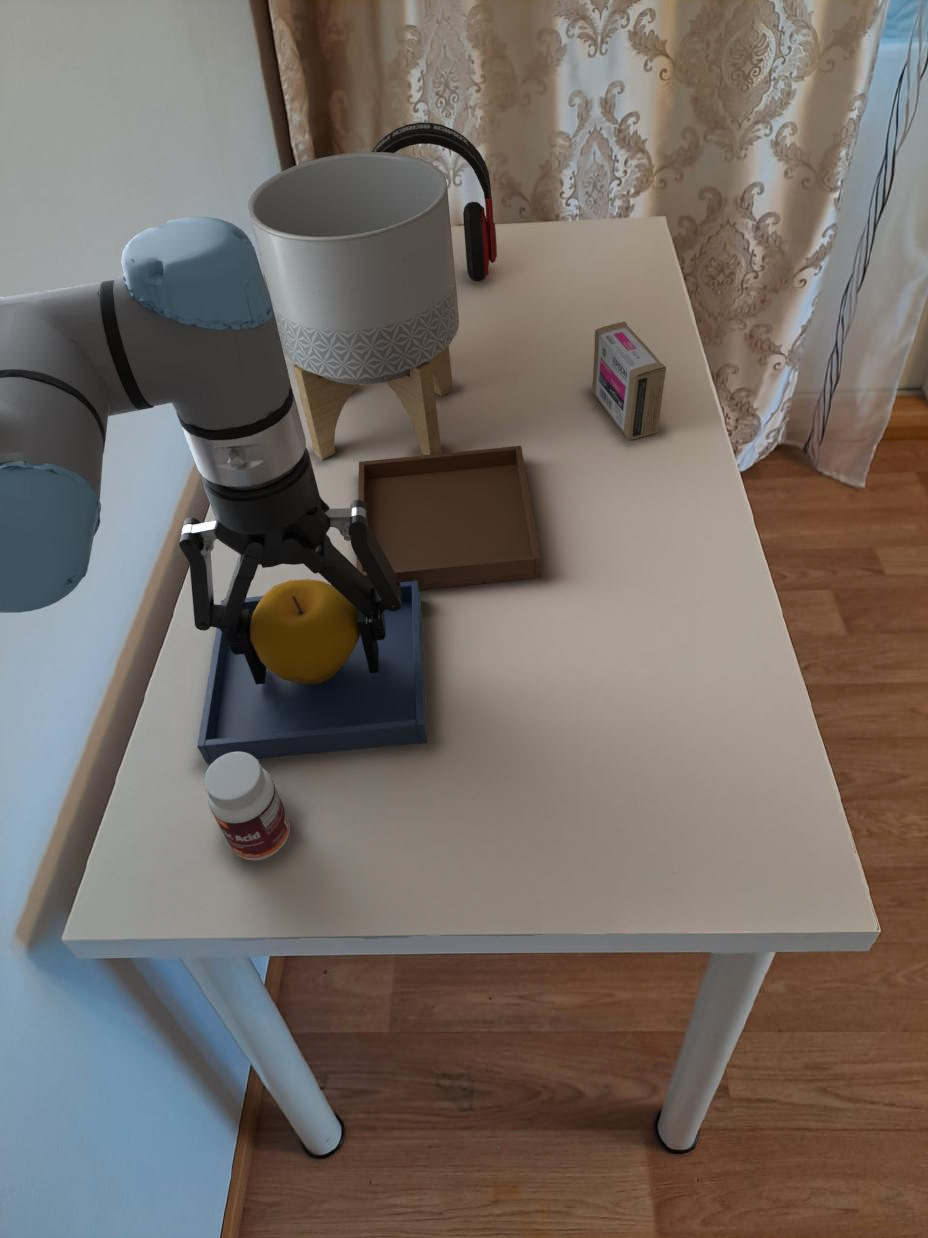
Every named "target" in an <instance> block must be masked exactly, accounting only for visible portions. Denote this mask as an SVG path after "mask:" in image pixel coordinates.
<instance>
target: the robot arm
mask: <svg viewBox="0 0 928 1238" xmlns="http://www.w3.org/2000/svg"><path fill="white" fill-rule="evenodd" d="M120 262H121V268H122V270H123V273H122V275H121V276H116V277H115V278H114V279H111V280H110V279H109V280H105V281H98V282H93V283H86V284H80V285H73V286H66V287H61V288H55V289H48V290H42V291H34V292H29V293H22V294H15V295H10V296H0V614H3V613H4V614H11V613H13V614H14V613H17V614H18V613H27V612H33V611H37V610H41V609H45V608H46V607H50V606H51V605H54V604H56V603H59V602H60V601H61V600H63V599H65V597H67V596H68V595H70V594H71V593H72V592H73V591H75V589H76V588H77V587H78V585H79V584H80V582H81V581H82V580H83V579H85V577H86V575H87V573H88V570H89V565H90V561H91V555H92V549H93V543H94V537H95V536H96V534H97V532H98V530H99V528H100V524H101V510H102V503H101V492H102V491H101V488H102V475H103V461H104V453H105V446H106V441H107V440H106V439H107V431H108V430H107V429H108V422H109V417H111V416H116V415H122V414H128V413H133V412H139V411H143V410H148V409H153V408H154V407H157V406H162V405H167V404H172V406H173V408H174V410H175V413H176V416H177V418H178V420H179V423H180V427H181V429H182V432H183V434H184V437H185V440H186V442H187V445H188V448H189V450H190V453H191V456H192V458H193V461H194V463H195V466H196V469H197V471H198V472H199V474H200V480H201V483H202V486H203V488H204V491H205V494H206V496H207V499H208V502H209V504H210V507H211V511H212V513H213V515H214V517H215V520H211V521H206V522H201V521H200V520H199V519H197V518H195V517H187V518H185V519H184V521H183V526H182V529H181V534H180V538H179V539H180V540H179V543H178V545H179V548H180V550H181V551H182V553H183V555H184V556H185V558H186V560H187V562H188V563H189V573H190V585H191V586H190V587H191V594H192V595H191V597H192V608H193V609H192V610H193V618H194V619H193V620H194V621H193V622H194V627H195V628H196V629H197V630H199V631H204V632H205V631H208V630H210V629H211V628H215V629H217V628H219V629H220V630H221V631H222V632H223V633H224V634H225V637H226V639H227V642H228V644H229V646H230V649H231V651H232V652H233V653H234V654H235V655H239V654H244V656H245V658H246V661H247V663H248V666H249V668H250V671H251V673H252V676H253V678H254V681H255V683H256V684H265V677H266V666H265V665H264V664H263V663H262V662H261V661H260V659H259V657H258V655H257V653H256V650H255V648H254V646H253V644H252V642H251V640H250V633H249V626H250V623H251V619H252V617H251V614H250V612H249V609H248V610H242V608H243V605H244V602H245V599H246V598H247V596H248V593H249V590H250V588H251V585H252V581H253V580H254V579H255V576H256V573H257V570H258V567H259V566H261V568H262V569H266V568H273V567H277V566H279V565H293V566H294V565H296V566H297V565H304V566H305V567H306V568H307V569H308V570H309V571H311V572H312V573H313V574H315V575H316V574H319V575H320V576H321V577H322V578H323V579H324V580H326V581H327V583H328V584H330V585H332V586H333V587H334V588H335V589H337V590H338V591H339V592H340V593H341V594H342V595H343V596H344V597H345V598H346V599H347V600H348V601H349V602H351V603H352V604H353V605H354V606H355V607H356V608H357V609H358V619H357V623H358V627H359V631H360V635H361V639H362V643H363V647H364V651H365V655H366V659H367V663H368V667H369V671H370V673H377V672H379V648H378V644H377V640H384V639H385V636H386V623H385V619H384V614H383V612H384V611H385V610H390V611H397V610H399V609H400V608H401V584H400V582H399V580H398V578H397V576H396V574H395V572H394V571H393V569H392V567H391V565H390V563H389V561H388V560H387V558H386V556H385V554H384V552H383V550H382V549H381V547H380V545H379V543H378V541H377V539H376V538H375V536H374V534H373V532H372V530H371V528H370V526H369V525H368V520H367V505H366V503H365V502H363V501H361V500H358V499H356V500H353V501H352V502H351V503H350V508H346V507H345V508H344V507H343V508H330V506H329V505H328V504H327V503H326V501H324V499H323V498H322V497H321V495H320V492H319V488H318V487H319V486H318V483H317V481H316V480H317V479H316V475H315V472H314V468H313V463H312V460H311V456H310V452H309V450H308V448H307V439H306V435H305V431H304V427H303V423H302V420H301V419H302V418H301V416H300V412H299V409H298V403H297V401H296V396H295V393H294V390H293V388H292V383H291V378H290V374H289V370H288V366H287V362H286V358H285V357H286V356H285V351H284V350H283V346H282V342H281V338H280V334H279V330H278V326H277V322H276V319H275V314H274V310H273V306H272V302H271V297H270V293H269V291H268V287H267V283H266V280H265V277H264V274H263V271H262V268H261V265H260V262H259V258H258V255H257V253H256V249H255V246H254V245H253V242H252V241H251V240H250V237H249V236H248V235H247V233H245V231H244V230H242V228H240V227H239V226H237V225H235V224H234V223H232V222H229V221H227V220H224V219H220V218H216V217H209V216H187V217H180V218H176V219H171V220H167V221H166V222H165V223H164V224H163V225H160V226H154V227H153V226H152V227H148V228H146V229H144V230H142V231H140V232H138V234H136V235H134V237H132V238H131V239H130V240H129V241H128V242H127V244H126V245H125V247H124V249H122V253H121V259H120ZM331 528H333V529H336V530H338V531H339V533H340V535H341V536H342V537H343V539H344V541H346V542H350V544H351V545H350V546H351V549H352V550H353V553H354V554H355V556H356V559H357V558H358V560H359V561H360V563H361V565H362V567H363V568H364V570H365V572H366V574H367V575H368V577H369V579H370V581H371V582H372V583H371V582H370V581H369V580H368V579H367V578H366V577H365V576H364V575H363V574H362V573H361V572H360V571H359V570H358V569H357V566H356V565H354V564H353V563H352V562H351V561H350V560H349V559H348V558H347V557H346V556H345V555H344V554H343V553H342V552H341V551H340V550H339V549H338V548H336V547H335V546H334V544H333V543H332V541H331V538H330V536H329V535H328V534H327V533H328V532H329V531H330V529H331ZM216 540H218V541H219V542H220V543H222V544H224V545H225V546H226V547H228V548H230V549H231V550H233V551H234V552H236V553H237V554H239V555H238V558H237V561H236V564H235V567H234V570H233V573H232V576H231V579H230V581H229V586H228V588H227V591H226V596H225V598H223V600H224V603H223V605H220V604H215V594H214V581H213V580H214V579H213V578H214V577H213V564H212V563H213V562H212V551H213V550H214V548H215V541H216Z"/></svg>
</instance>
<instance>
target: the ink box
mask: <svg viewBox="0 0 928 1238" xmlns="http://www.w3.org/2000/svg"><path fill="white" fill-rule="evenodd" d="M593 351H594V352H593V353H594V354H593V369H592V370H593V371H592V382H591V383H592V385H591V393H592V394H593V395H594V396H595V398H596V399H597V400H598V402H599V403H600V404H601V406H602V407H603V408H604V410H605V411H606V413H607V414H608V415H609V417H610V418H611V419H612V421H613V422H614V423H615V425H616V426H617V427H618V429H619V430H620V432H622V434H623V435H624V437H625V438H626V439H627V440H628V441H629V440H630V441H631V440H635V439H639V438H643V437H647V436H650V435H651V436H652V435H655V434H658V432H659V425H660V417H661V410H662V401H663V394H664V387H665V380H666V372H667V366H666V365H665V364H664V363H663V362H661V361H660V360H659V359H658V358H657V356H656V355H655V354H654V353H653V352H652V350H651V349H649V347H648V346H647V345H646V344H645V343H644V342H643V341H642V340H641V339H640V338H639V336H638V335H637V334H636V333H635V332H634V331H633V330H632V329H631V328H630V326H629V325H628V323H627V322H626V321H622V322H621V321H620V322H616V323H613V324H609V325H605V326H601V327H599V328H596V329H595V330H594V349H593Z"/></svg>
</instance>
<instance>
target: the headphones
mask: <svg viewBox="0 0 928 1238" xmlns="http://www.w3.org/2000/svg"><path fill="white" fill-rule="evenodd" d="M416 145H434V146H439V147H441V148H446V149H447V150H450V151H452V152H454V153H455V154H458V155H459V156H460V158H462V159H464V160H465V161H466V162H467V164H468V165H469V166H470V167H471V169H472V170H473V172H474V174H475V176H476V178H477V180H478V182H479V186H480V187H481V190H482V193H483V198H484V205H485V207H484V206H483V205H481V204H480V202H478V201H470V202H467V203H466V204H465V205H464V207H463V212H462V217H463V220H462V221H463V233H464V245H465V248H464V249H465V260H466V271H467V275H468V277H469V279H470V280H472V281H473V282H481V281H484V280H485V279H486V277H487V276H488V275H489V267H490V263H491V264H494V263H495V262H496V260H497V258H498V245H497V231H496V223H495V222H494V205H493V196H492V188H491V178H490V172H489V169H488V166H487V163H486V161H485V160H484V157H483V156H482V154H481V152H479V150H478V149H477V147H476V146H475V145H474V144H473V143H472V142H471V141H470V140H469V139H468V138H467V137H466V136H465V135H463V134H461V133H460V132H458V131H457V130H456V129H453V128H451V127H448V126H446V125H445V124H440V123H435V122H414V123H410V124H409V123H408V124H405V125H403V126H401V127H400V126H399V127H398V128H395V129H394V130H393V131H391V132H389V133H388V134H386V135H385V136H384V137H383V138H382V139H381V140H380V141H378V142H377V144H376V145H375V146H374V147H373V149H372V150H371V152H388V153H397V152H398V151H400V150H402V149H405V148H408V147H410V146H416Z"/></svg>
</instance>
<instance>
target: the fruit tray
mask: <svg viewBox="0 0 928 1238" xmlns="http://www.w3.org/2000/svg"><path fill="white" fill-rule="evenodd" d="M400 584H401V608H400V609H399V610H397V611H390V610H385V611H384V612H383V614H384V619H385V623H386V636H385V639H384V640H377V644H378V648H379V672H377V673H370V671H369V667H368V663H367V659H366V655H365V651H364V647H363V643H362V639H361V635H360V637H359V640H358V642H357V644H356V646H355V648H354V650H353V652H352V653H351V655H350V656H349V658H348V660H347V661H346V663H345V664H344V665H343V666H342V667H341V668H340V669H339V670H338V672H337V673H336V674H335V675H334V676H332V677H331V678H330V679H328V680H326V681H324V682H322V683H320V684H300V683H296V682H291V681H287V680H284V679H282V678H280V677H279V676H277V675H276V674H274V673H272V672H271V671H269V670H268V669H267V667H266V677H265V684H256V683H255V681H254V678H253V676H252V673H251V671H250V668H249V666H248V663H247V661H246V658H245V656H244V654H239V655H235V654H234V653H233V652H232V651H231V649H230V646H229V644H228V642H227V639H226V637H225V634H224V633H223V632H222V631H221V630H220V629H219V628H215V629H216V630H215V635H214V642H213V647H212V648H213V649H212V654H211V661H210V665H209V673H208V678H207V686H206V691H205V697H204V703H203V710H202V716H201V723H200V729H199V734H198V740H197V741H198V742H197V748H198V750H199V752H200V755H201V756H202V758H203V760H204V762H205V764H206V765H211V764H212V763H213V762H214V761H215V760H216V759H218V758H219V757H221V756H222V755H225V754H227V753H231V752H245V753H248V754H251V755H252V756H254V757H255V758H256V759H257V760H263V759H272V758H283V757H294V756H303V755H305V756H306V755H313V754H316V755H317V754H324V753H326V754H327V753H335V752H346V751H356V750H364V749H365V750H366V749H376V748H386V747H387V748H388V747H397V746H398V747H399V746H406V745H416V744H417V745H418V744H427V743H428V730H427V729H428V728H427V705H426V685H425V665H424V664H425V662H424V659H425V658H424V641H423V639H424V638H423V636H424V635H423V618H422V598H421V591H420V590H419V585H418V581H412V582H411V581H410V582H400ZM263 597H264V595H260V596H249V597H246V599H245V602H244V605H243V608H242V610H248V609H249V612H250V614H251V617H252V615H253V612H254V610H255V609H256V607H257V605H258V603H259V602H260V600H261V599H262V598H263ZM223 603H224V599H221V600H220V604H219V605H223ZM356 609H357V608H356ZM357 611H358V609H357Z"/></svg>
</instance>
